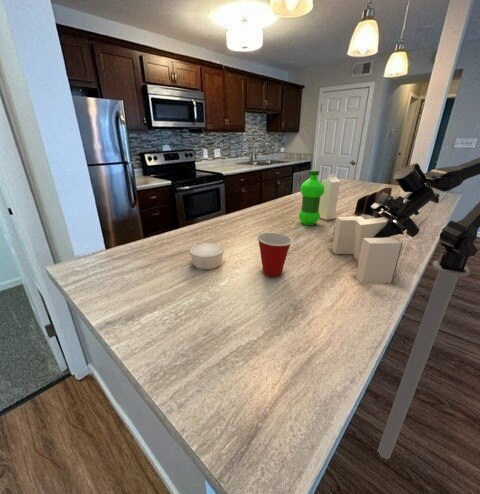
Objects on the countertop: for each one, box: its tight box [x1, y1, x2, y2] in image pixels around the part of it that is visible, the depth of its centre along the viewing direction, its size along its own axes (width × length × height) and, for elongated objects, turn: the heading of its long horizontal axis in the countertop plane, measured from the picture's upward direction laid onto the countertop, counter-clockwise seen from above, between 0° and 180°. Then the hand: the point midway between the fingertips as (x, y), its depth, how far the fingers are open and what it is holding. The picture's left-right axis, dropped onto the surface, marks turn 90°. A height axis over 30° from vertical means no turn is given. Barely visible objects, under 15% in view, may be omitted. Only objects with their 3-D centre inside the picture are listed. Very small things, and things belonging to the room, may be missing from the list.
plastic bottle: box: [298, 169, 324, 226], centre depth 122 cm, size 10×10×25 cm
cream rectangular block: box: [353, 217, 391, 262], centre depth 85 cm, size 9×4×13 cm, turn 89°
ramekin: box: [189, 242, 225, 270], centre depth 87 cm, size 11×11×5 cm
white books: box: [331, 216, 403, 285], centre depth 86 cm, size 9×24×13 cm, turn 3°
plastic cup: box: [256, 231, 294, 277], centre depth 81 cm, size 11×11×12 cm
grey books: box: [332, 214, 375, 242], centre depth 111 cm, size 9×26×6 cm, turn 133°
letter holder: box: [354, 187, 393, 217], centre depth 141 cm, size 10×20×14 cm, turn 132°
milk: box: [319, 173, 341, 221], centre depth 131 cm, size 6×6×22 cm
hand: (370, 236), depth 84 cm, fingers closed on cream rectangular block, 4 cm apart
